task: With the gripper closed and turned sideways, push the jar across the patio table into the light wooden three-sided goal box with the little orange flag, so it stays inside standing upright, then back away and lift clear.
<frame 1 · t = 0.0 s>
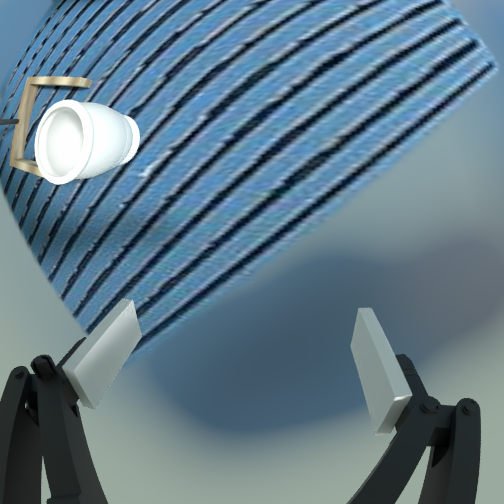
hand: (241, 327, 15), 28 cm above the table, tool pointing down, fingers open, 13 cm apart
jar: (119, 139, 39), on the table
goal box: (51, 125, 38), on the table
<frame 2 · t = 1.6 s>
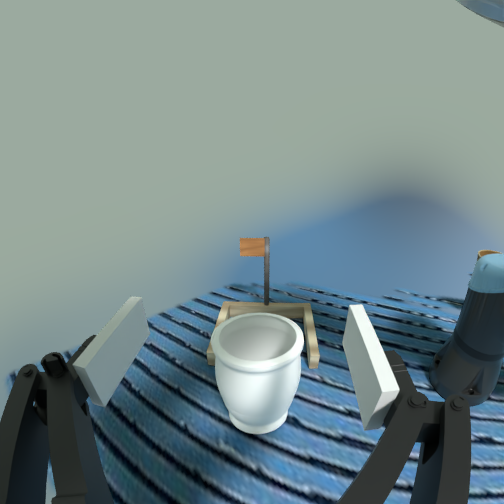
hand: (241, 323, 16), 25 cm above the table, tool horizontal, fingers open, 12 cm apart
jar: (258, 413, 36), on the table
goal box: (264, 340, 52), on the table
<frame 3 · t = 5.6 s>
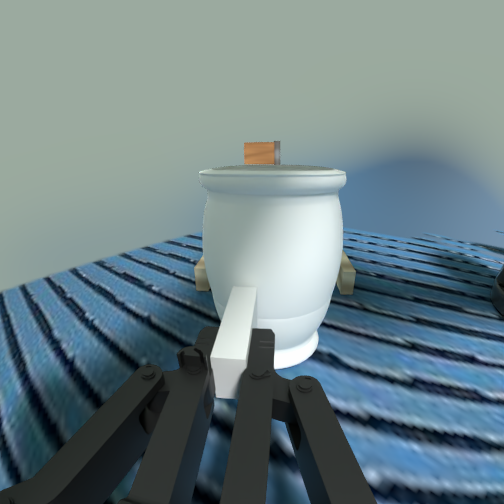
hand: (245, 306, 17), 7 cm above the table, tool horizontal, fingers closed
jar: (271, 342, 25), on the table, touching gripper
goal box: (275, 267, 40), on the table
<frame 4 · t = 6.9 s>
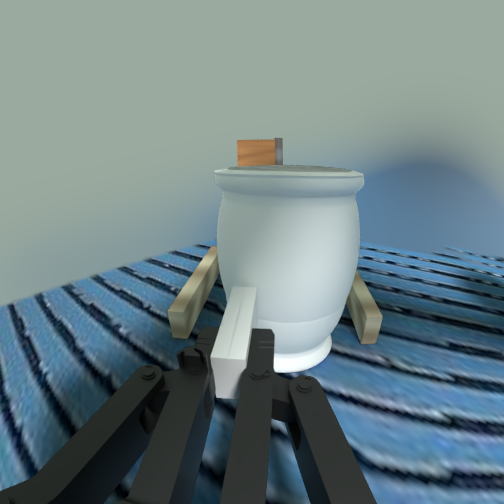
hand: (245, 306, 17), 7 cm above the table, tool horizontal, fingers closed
jar: (284, 345, 24), on the table, touching gripper
goal box: (276, 300, 31), on the table
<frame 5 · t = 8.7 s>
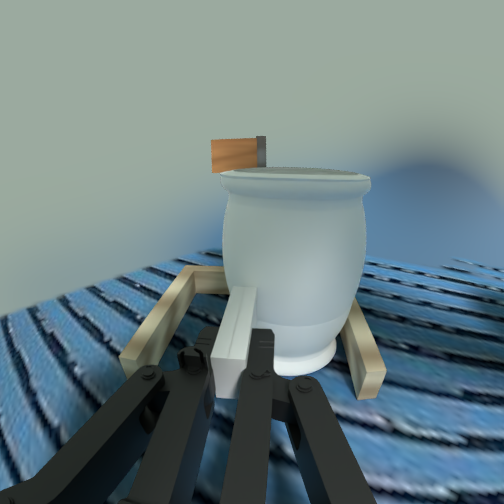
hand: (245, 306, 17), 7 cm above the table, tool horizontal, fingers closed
jar: (288, 348, 24), on the table, touching gripper
goal box: (256, 336, 25), on the table
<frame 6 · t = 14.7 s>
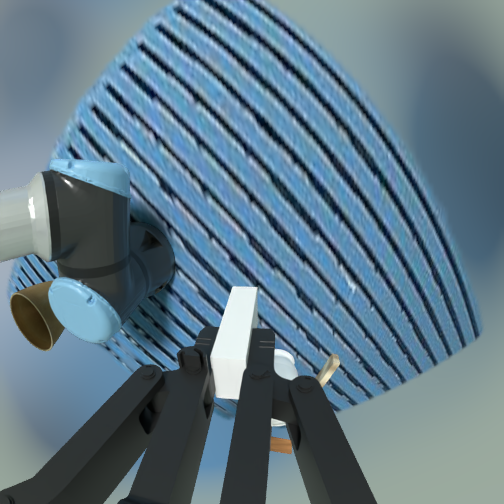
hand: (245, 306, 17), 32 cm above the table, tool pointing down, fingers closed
jar: (275, 361, 60), on the table
plant pot: (67, 291, 59), on the table
goal box: (285, 369, 60), on the table
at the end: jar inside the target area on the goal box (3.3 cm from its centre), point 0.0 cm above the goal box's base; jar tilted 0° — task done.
